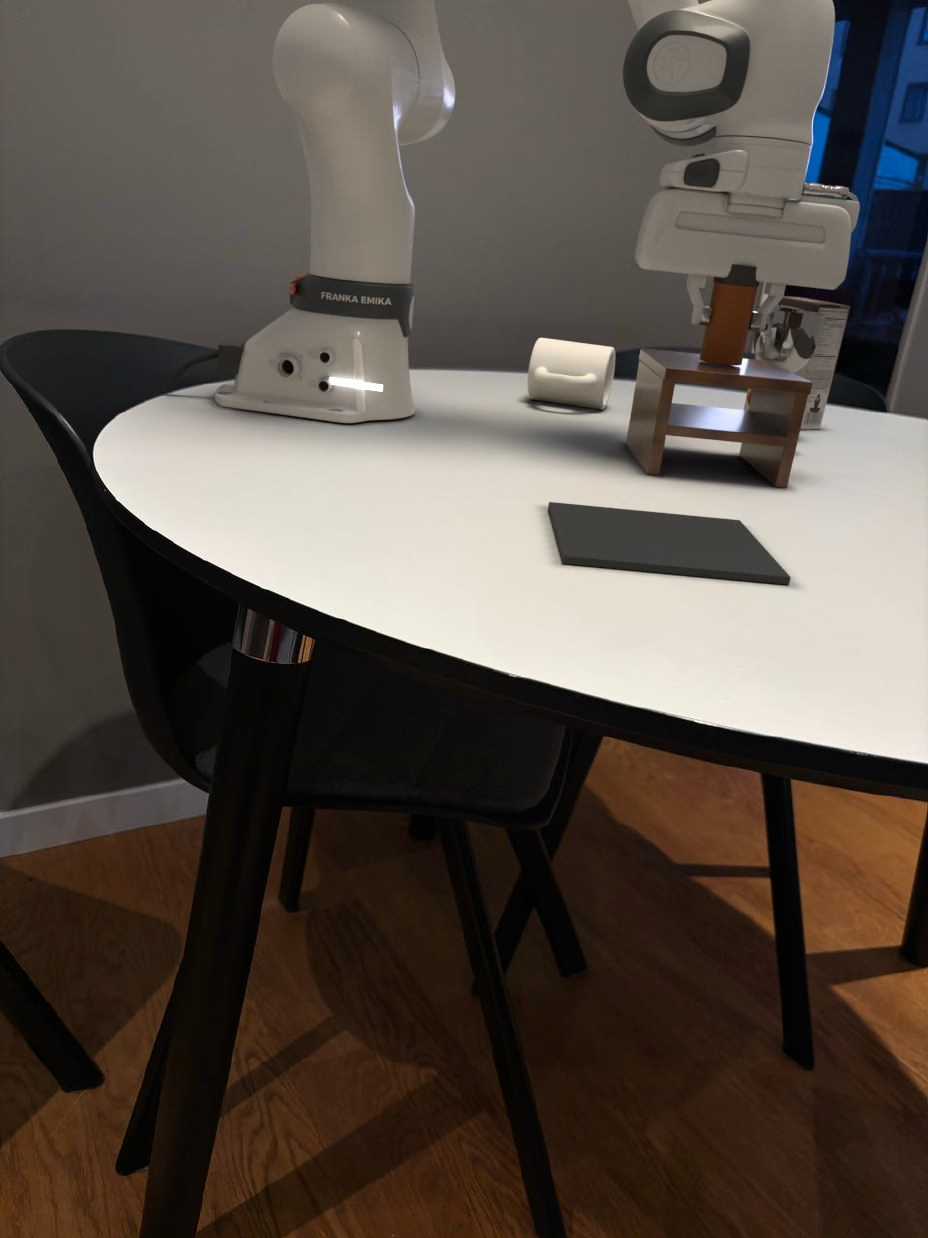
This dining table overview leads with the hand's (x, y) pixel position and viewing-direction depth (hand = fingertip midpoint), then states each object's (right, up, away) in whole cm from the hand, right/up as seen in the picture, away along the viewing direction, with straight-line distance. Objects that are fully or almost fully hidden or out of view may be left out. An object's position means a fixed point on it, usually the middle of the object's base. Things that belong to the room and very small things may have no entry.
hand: (726, 327), depth 98 cm
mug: (-13, -1, +31) cm, 34 cm away
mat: (-11, -23, -23) cm, 35 cm away
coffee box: (+17, -3, +35) cm, 39 cm away
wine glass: (+12, -6, +26) cm, 29 cm away
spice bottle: (0, -3, +1) cm, 3 cm away
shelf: (-1, -13, +5) cm, 14 cm away
